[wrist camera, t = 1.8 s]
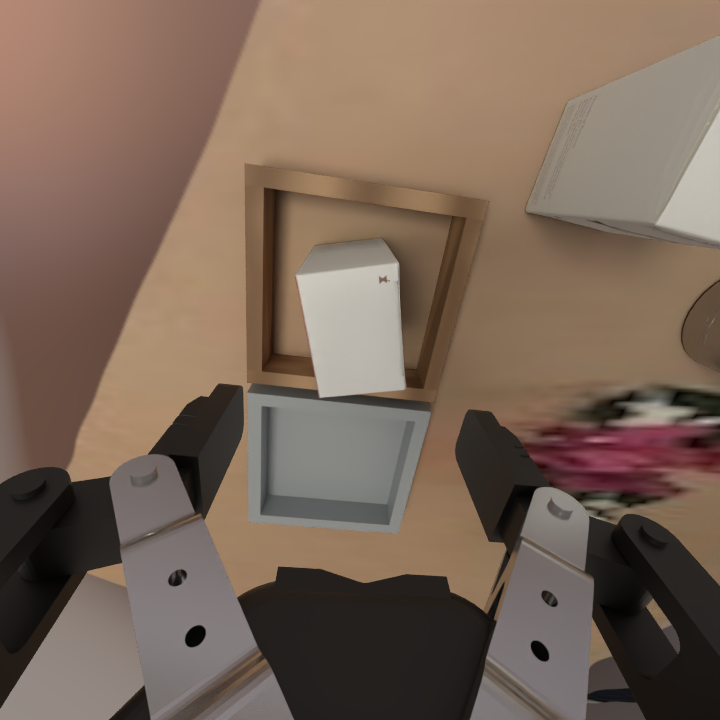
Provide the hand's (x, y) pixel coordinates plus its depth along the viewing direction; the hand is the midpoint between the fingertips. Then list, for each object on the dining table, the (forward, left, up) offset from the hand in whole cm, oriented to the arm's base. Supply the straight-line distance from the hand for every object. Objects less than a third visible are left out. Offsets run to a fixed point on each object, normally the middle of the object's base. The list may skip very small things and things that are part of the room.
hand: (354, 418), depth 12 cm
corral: (0, 0, -18) cm, 18 cm away
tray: (0, +17, -18) cm, 25 cm away
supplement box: (-16, -11, -18) cm, 27 cm away
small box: (0, 0, -19) cm, 19 cm away
